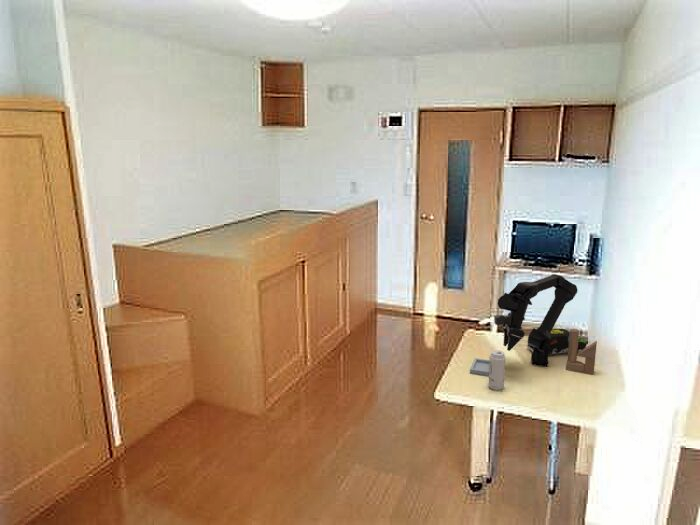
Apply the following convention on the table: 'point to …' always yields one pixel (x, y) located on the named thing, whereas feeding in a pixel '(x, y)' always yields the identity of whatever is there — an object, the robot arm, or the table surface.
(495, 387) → the energy drink can
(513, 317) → the robot arm
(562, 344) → the toy van
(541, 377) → the table surface
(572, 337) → the brown angular piece
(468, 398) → the table surface
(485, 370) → the tray
